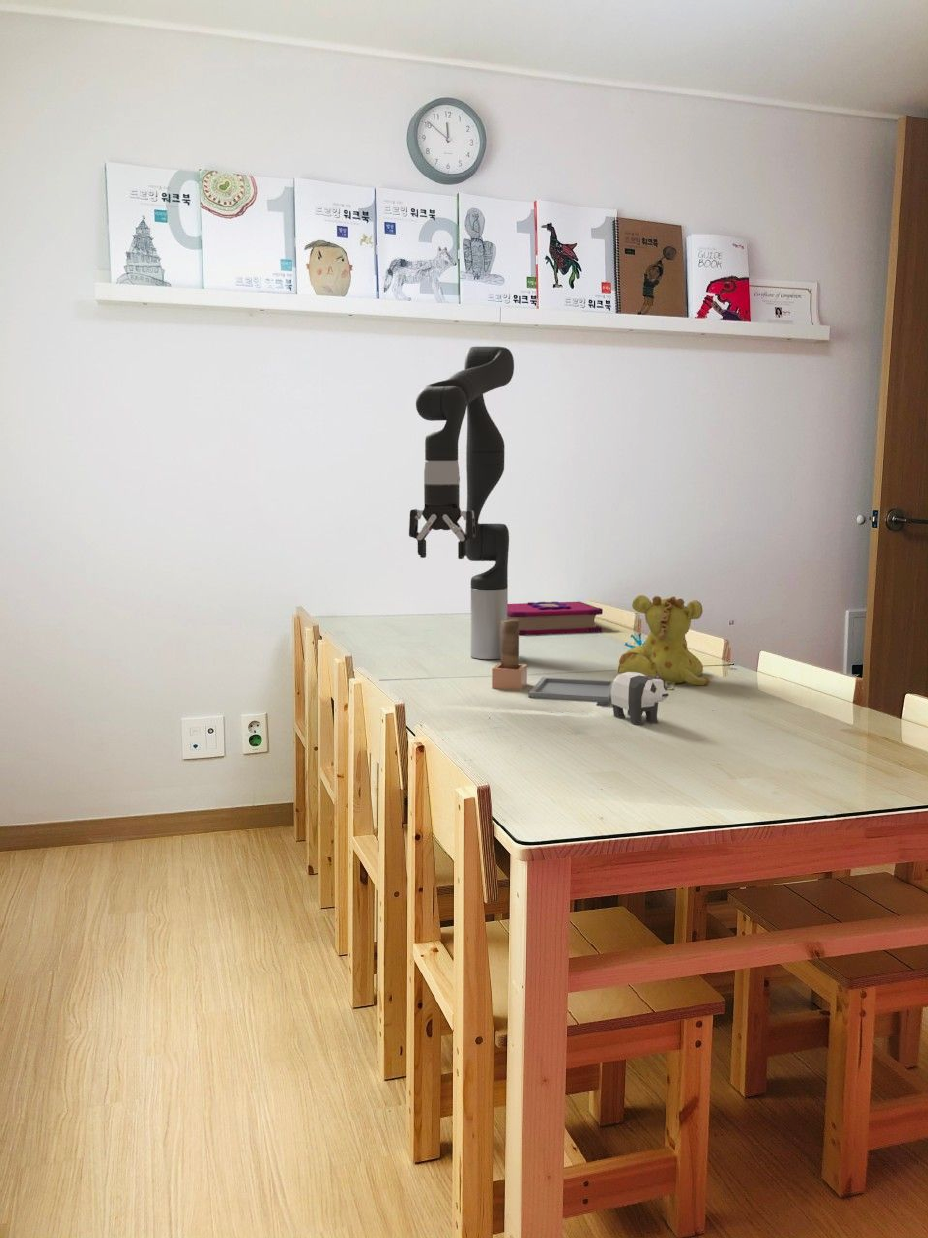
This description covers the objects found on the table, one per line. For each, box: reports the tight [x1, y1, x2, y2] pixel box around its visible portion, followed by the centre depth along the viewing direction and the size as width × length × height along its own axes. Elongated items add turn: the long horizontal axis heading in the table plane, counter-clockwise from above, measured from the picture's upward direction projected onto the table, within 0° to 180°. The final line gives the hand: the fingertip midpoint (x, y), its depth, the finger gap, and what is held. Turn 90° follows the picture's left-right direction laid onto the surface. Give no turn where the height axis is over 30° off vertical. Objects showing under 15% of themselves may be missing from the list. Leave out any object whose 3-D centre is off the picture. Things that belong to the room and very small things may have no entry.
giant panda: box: [610, 672, 669, 726], centre depth 188 cm, size 15×6×10 cm, turn 25°
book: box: [508, 601, 603, 636], centre depth 301 cm, size 21×28×8 cm
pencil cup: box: [491, 662, 528, 691], centre depth 216 cm, size 6×6×5 cm
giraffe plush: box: [617, 594, 711, 691], centre depth 226 cm, size 20×24×19 cm
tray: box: [528, 676, 614, 707], centre depth 211 cm, size 16×16×2 cm
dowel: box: [500, 620, 520, 669], centre depth 215 cm, size 4×4×14 cm
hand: (442, 558), depth 219 cm, fingers open, 8 cm apart
